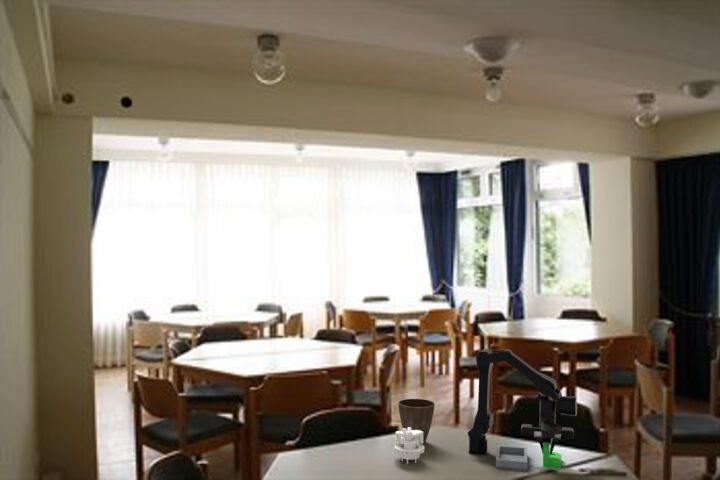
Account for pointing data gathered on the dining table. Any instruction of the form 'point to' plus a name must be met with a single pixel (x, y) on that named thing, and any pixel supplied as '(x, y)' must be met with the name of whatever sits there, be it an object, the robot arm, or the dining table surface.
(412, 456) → the mechanical part
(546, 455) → the mechanical part
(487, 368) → the robot arm
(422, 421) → the plant pot
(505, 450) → the parts tray
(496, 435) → the dining table surface
